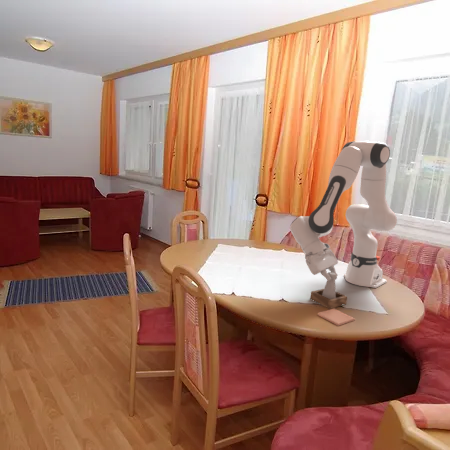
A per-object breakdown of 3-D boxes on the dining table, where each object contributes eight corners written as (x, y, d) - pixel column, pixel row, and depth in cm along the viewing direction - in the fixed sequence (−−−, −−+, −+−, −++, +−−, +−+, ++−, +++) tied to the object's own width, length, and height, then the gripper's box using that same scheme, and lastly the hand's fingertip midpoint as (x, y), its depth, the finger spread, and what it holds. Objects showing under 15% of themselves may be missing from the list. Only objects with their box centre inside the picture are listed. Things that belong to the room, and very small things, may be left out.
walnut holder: (326, 295, 169) (327, 287, 168) (346, 304, 160) (347, 296, 160) (310, 299, 162) (311, 291, 162) (329, 308, 154) (331, 300, 153)
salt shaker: (324, 297, 165) (328, 269, 163) (337, 302, 162) (341, 273, 159) (318, 301, 161) (323, 272, 158) (331, 305, 157) (335, 276, 155)
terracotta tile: (333, 310, 153) (333, 308, 153) (354, 320, 145) (354, 318, 145) (317, 315, 147) (317, 313, 147) (338, 325, 139) (338, 323, 139)
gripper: (309, 250, 153) (328, 280, 149) (330, 243, 169) (347, 269, 165) (298, 258, 157) (316, 287, 153) (319, 250, 172) (336, 276, 168)
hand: (332, 278), depth 159 cm, fingers closed on salt shaker, 4 cm apart
